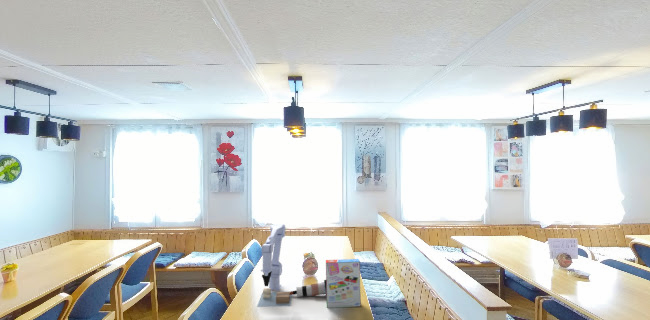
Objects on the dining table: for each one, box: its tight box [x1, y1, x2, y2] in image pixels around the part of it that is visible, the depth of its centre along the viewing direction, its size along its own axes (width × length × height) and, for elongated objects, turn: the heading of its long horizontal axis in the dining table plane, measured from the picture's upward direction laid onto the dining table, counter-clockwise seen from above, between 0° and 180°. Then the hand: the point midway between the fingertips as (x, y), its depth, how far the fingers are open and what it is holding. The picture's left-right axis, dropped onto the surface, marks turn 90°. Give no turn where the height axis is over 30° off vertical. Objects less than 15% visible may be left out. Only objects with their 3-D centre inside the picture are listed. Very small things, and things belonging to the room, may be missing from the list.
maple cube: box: [262, 287, 272, 298], centre depth 211 cm, size 4×4×4 cm
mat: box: [256, 291, 293, 308], centre depth 207 cm, size 22×20×1 cm
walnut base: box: [276, 291, 290, 304], centre depth 204 cm, size 8×8×4 cm
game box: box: [325, 258, 362, 309], centre depth 198 cm, size 21×6×27 cm, turn 92°
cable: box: [289, 279, 327, 298], centre depth 212 cm, size 10×34×10 cm, turn 94°
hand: (266, 284), depth 211 cm, fingers open, 7 cm apart
